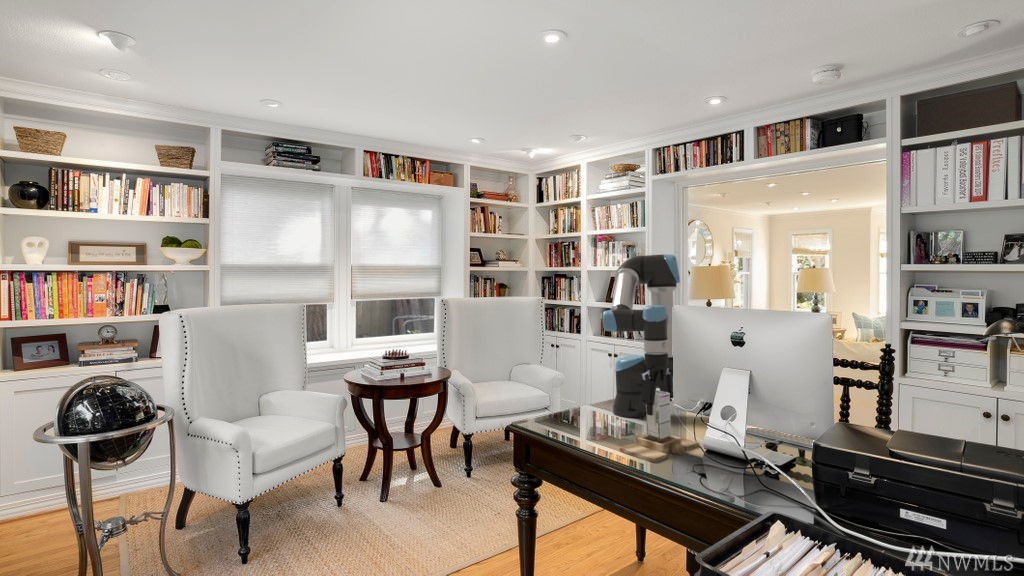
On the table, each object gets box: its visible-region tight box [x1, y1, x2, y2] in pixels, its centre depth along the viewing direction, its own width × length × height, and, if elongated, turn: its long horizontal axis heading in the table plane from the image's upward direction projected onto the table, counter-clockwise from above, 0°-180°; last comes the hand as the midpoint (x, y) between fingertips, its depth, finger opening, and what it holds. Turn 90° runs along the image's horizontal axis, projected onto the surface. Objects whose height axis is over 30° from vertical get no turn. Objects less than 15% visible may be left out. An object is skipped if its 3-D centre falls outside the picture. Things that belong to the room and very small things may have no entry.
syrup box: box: [645, 389, 672, 439], centre depth 176 cm, size 6×6×14 cm
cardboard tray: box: [619, 433, 700, 463], centre depth 176 cm, size 18×23×4 cm
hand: (658, 422), depth 176 cm, fingers closed on syrup box, 6 cm apart
